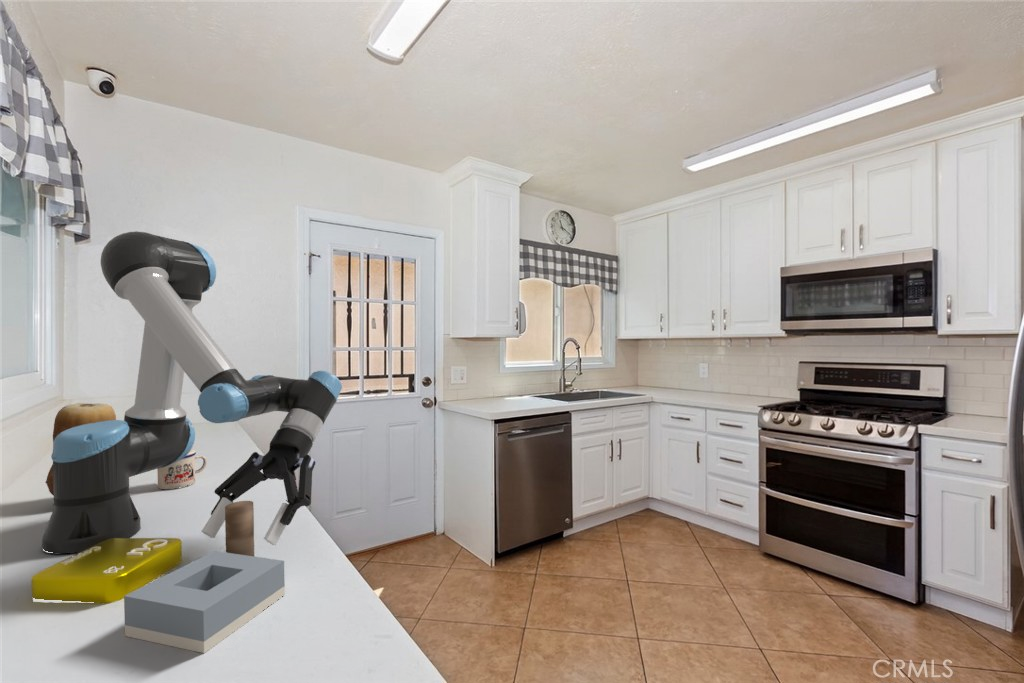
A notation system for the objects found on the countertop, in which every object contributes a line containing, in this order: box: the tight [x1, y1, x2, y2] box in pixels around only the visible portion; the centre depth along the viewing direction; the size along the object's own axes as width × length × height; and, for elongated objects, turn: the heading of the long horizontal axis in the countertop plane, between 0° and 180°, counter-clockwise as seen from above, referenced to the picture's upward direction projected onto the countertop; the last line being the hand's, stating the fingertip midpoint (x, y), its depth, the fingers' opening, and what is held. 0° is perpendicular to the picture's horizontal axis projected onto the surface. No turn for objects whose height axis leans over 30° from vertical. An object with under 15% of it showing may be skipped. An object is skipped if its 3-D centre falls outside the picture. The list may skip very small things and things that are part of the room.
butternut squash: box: [45, 402, 117, 497], centre depth 120 cm, size 14×13×25 cm
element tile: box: [30, 537, 183, 604], centre depth 80 cm, size 15×15×5 cm
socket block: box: [123, 550, 286, 654], centre depth 69 cm, size 14×14×6 cm
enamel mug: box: [156, 449, 208, 490], centre depth 133 cm, size 12×9×12 cm
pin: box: [224, 500, 255, 557], centre depth 84 cm, size 4×4×11 cm
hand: (237, 538), depth 82 cm, fingers open, 13 cm apart
